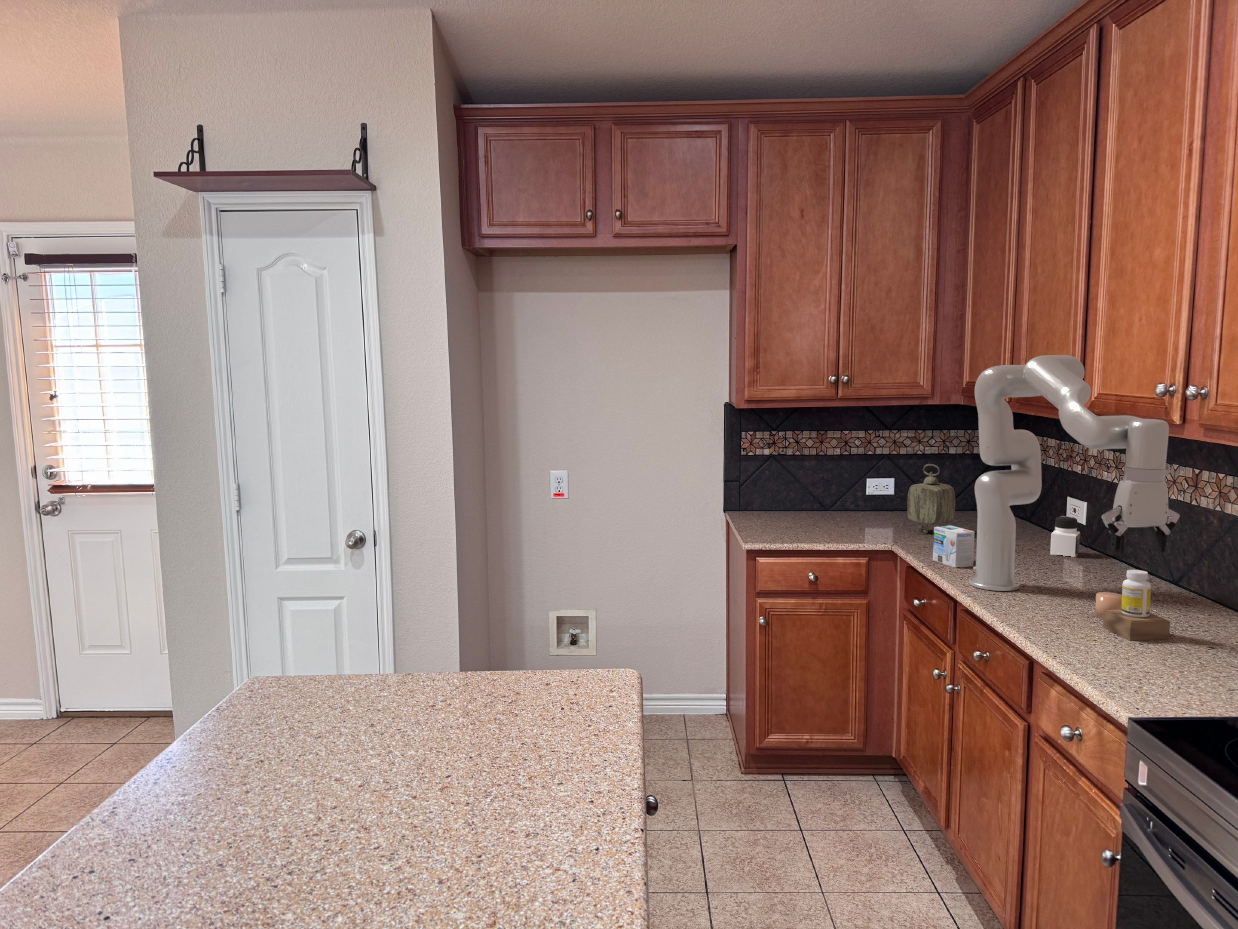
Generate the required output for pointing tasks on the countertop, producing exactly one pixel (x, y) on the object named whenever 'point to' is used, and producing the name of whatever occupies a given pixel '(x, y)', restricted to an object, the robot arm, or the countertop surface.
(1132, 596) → the supplement bottle
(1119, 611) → the brown square block
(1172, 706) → the countertop surface
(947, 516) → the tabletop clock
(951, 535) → the light bulb box
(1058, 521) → the medicine bottle
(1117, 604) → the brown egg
